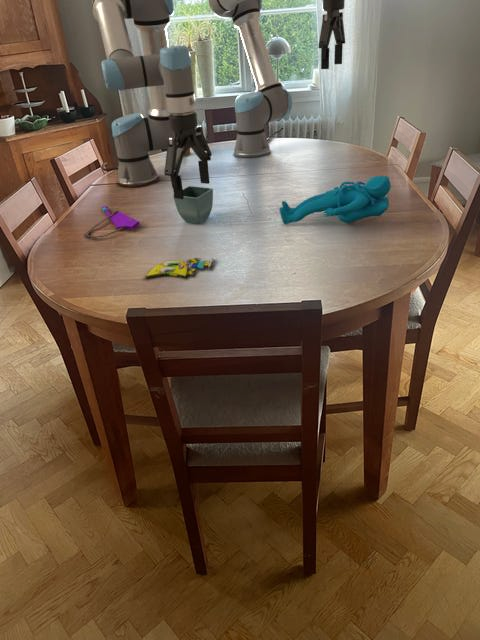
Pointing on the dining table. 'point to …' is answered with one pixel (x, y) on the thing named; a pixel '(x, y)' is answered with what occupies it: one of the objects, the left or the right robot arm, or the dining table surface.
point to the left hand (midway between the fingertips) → (192, 190)
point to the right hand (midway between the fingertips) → (331, 66)
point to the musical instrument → (117, 221)
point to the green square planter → (195, 204)
